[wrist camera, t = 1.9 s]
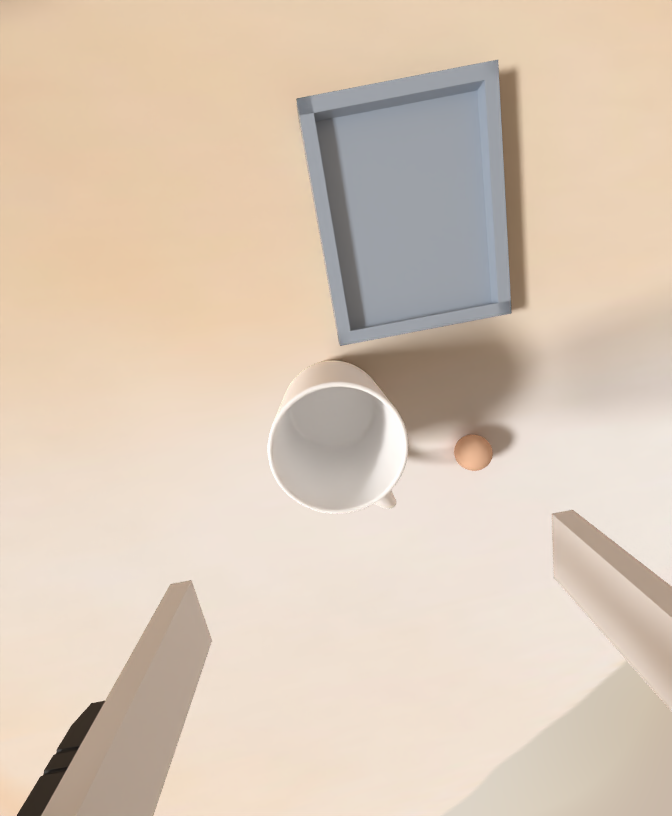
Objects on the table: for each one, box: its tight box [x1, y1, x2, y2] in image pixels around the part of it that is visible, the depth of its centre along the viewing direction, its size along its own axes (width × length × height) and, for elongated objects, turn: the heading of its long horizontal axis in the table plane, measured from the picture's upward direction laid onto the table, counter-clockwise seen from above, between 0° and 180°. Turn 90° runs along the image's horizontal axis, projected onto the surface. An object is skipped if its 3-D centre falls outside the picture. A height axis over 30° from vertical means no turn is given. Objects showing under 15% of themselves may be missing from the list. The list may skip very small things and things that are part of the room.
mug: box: [268, 360, 408, 514], centre depth 27 cm, size 9×12×11 cm
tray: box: [296, 60, 511, 346], centre depth 28 cm, size 17×14×2 cm
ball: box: [454, 435, 493, 471], centre depth 32 cm, size 3×3×3 cm
